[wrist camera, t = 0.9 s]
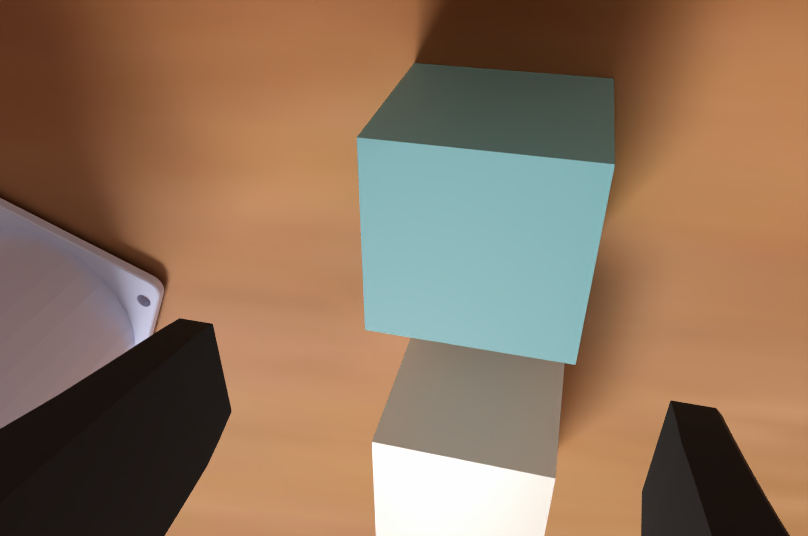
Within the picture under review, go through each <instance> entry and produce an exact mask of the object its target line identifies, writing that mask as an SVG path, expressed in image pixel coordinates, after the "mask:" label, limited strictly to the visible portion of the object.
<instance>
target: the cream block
mask: <svg viewBox="0 0 808 536" xmlns="http://www.w3.org/2000/svg"><path fill="white" fill-rule="evenodd" d="M564 365H565V363H561V362H555V361H549V360H543V359H537V358H531V357H525V356H519V355H513V354H507V353H501V352H495V351H489V350H483V349H477V348H471V347H465V346H459V345H453V344H447V343H441V342H435V341H429V340H423V339H417V338H411V339H410V341H409V344H408V347H407V349H406V352H405V355H404V357H403V360H402V363H401V365H400V368H399V371H398V374H397V376H396V379H395V382H394V384H393V387H392V390H391V392H390V395H389V398H388V400H387V403H386V406H385V408H384V411H383V414H382V416H381V419H380V422H379V424H378V427H377V430H376V433H375V435H374V438H373V441H372V454H373V478H374V501H375V524H376V536H544V533H545V528H546V523H547V518H548V513H549V508H550V503H551V498H552V493H553V488H554V483H555V477H556V465H557V453H558V440H559V428H560V415H561V403H562V390H563V378H564Z"/></svg>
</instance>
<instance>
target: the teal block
mask: <svg viewBox="0 0 808 536" xmlns="http://www.w3.org/2000/svg"><path fill="white" fill-rule="evenodd" d="M357 153H358V176H359V199H360V222H361V245H362V268H363V292H364V315H365V330H368V331H374V332H381V333H387V334H393V335H399V336H405V337H411V338H417V339H423V340H429V341H435V342H441V343H447V344H453V345H459V346H465V347H471V348H477V349H483V350H489V351H495V352H501V353H507V354H513V355H519V356H525V357H531V358H537V359H543V360H549V361H555V362H561V363H567V364H573V365H576V360H577V355H578V350H579V345H580V340H581V335H582V330H583V324H584V319H585V314H586V309H587V304H588V299H589V294H590V289H591V284H592V279H593V274H594V268H595V263H596V258H597V253H598V248H599V243H600V238H601V233H602V228H603V223H604V218H605V212H606V207H607V202H608V197H609V192H610V187H611V182H612V177H613V172H614V167H615V129H614V79H612V78H599V77H587V76H574V75H561V74H548V73H536V72H523V71H510V70H498V69H485V68H472V67H459V66H447V65H434V64H421V63H414V64H413V65H412V67H411V68H410V69H409V71H408V72H407V73H406V74H405V76H404V77H403V78H402V80H401V81H400V82H399V83H398V85H397V86H396V87H395V89H394V90H393V91H392V93H391V94H390V95H389V96H388V98H387V99H386V100H385V102H384V103H383V104H382V105H381V107H380V108H379V109H378V111H377V112H376V113H375V115H374V116H373V117H372V118H371V120H370V121H369V122H368V124H367V125H366V126H365V127H364V129H363V130H362V131H361V133H360V134H359V135H358V137H357Z"/></svg>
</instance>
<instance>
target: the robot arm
mask: <svg viewBox="0 0 808 536" xmlns="http://www.w3.org/2000/svg"><path fill="white" fill-rule="evenodd" d="M163 294H164V287H163V285H162V283H161V282H160V280H159V279H157V278H156V277H154V276H153V275H151V274H149V273H147V272H145V271H143V270H141V269H139V268H137V267H135V266H133V265H131V264H129V263H127V262H125V261H123V260H121V259H119V258H117V257H115V256H113V255H111V254H109V253H107V252H105V251H104V250H102V249H100V248H98V247H96V246H94V245H92V244H90V243H88V242H86V241H84V240H82V239H80V238H78V237H76V236H74V235H72V234H70V233H68V232H66V231H64V230H62V229H60V228H58V227H56V226H54V225H52V224H51V223H49V222H47V221H45V220H43V219H41V218H39V217H37V216H35V215H33V214H31V213H29V212H27V211H25V210H23V209H21V208H19V207H17V206H15V205H13V204H11V203H9V202H7V201H5V200H3V199H1V198H0V536H165V534H166V532H167V531H168V529H169V527H170V526H171V524H172V523H173V521H174V519H175V518H176V516H177V515H178V513H179V511H180V510H181V508H182V506H183V505H184V503H185V502H186V500H187V498H188V497H189V495H190V493H191V492H192V490H193V488H194V487H195V485H196V483H197V482H198V480H199V478H200V477H201V475H202V473H203V472H204V470H205V468H206V467H207V465H208V463H209V461H210V458H211V456H212V454H213V452H214V450H215V448H216V446H217V444H218V441H219V439H220V437H221V434H222V432H223V430H224V428H225V425H226V423H227V421H228V418H229V416H230V414H231V406H230V402H229V397H228V393H227V388H226V383H225V379H224V374H223V369H222V365H221V360H220V356H219V351H218V346H217V342H216V337H215V332H214V328H213V324H210V323H204V322H198V321H192V320H186V319H178V320H176V321H174V322H173V323H171V324H169V325H168V326H166V327H164V328H163V329H161V330H159V331H158V332H156V333H155V334H153V332H154V328H155V325H156V321H157V317H158V313H159V309H160V306H161V302H162V298H163ZM145 296H146V297H147V298H146V297H145ZM641 536H790V535H789V534H788V532H787V531H786V529H785V527H784V526H783V524H782V522H781V521H780V519H779V518H778V516H777V514H776V513H775V511H774V509H773V508H772V506H771V504H770V502H769V501H768V499H767V497H766V496H765V494H764V492H763V490H762V489H761V487H760V485H759V483H758V482H757V480H756V478H755V476H754V475H753V473H752V471H751V469H750V467H749V466H748V464H747V462H746V460H745V458H744V456H743V455H742V453H741V451H740V449H739V447H738V445H737V443H736V442H735V440H734V438H733V436H732V434H731V432H730V430H729V428H728V426H727V424H726V422H725V420H724V419H723V417H722V415H721V414H720V412H719V411H718V410H717V409H716V408H712V407H706V406H700V405H694V404H688V403H682V402H676V401H670V404H669V408H668V411H667V414H666V417H665V420H664V423H663V427H662V430H661V433H660V436H659V439H658V443H657V446H656V449H655V452H654V455H653V458H652V462H651V465H650V468H649V471H648V474H647V478H646V481H645V484H644V487H643V490H642V524H641Z"/></svg>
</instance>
